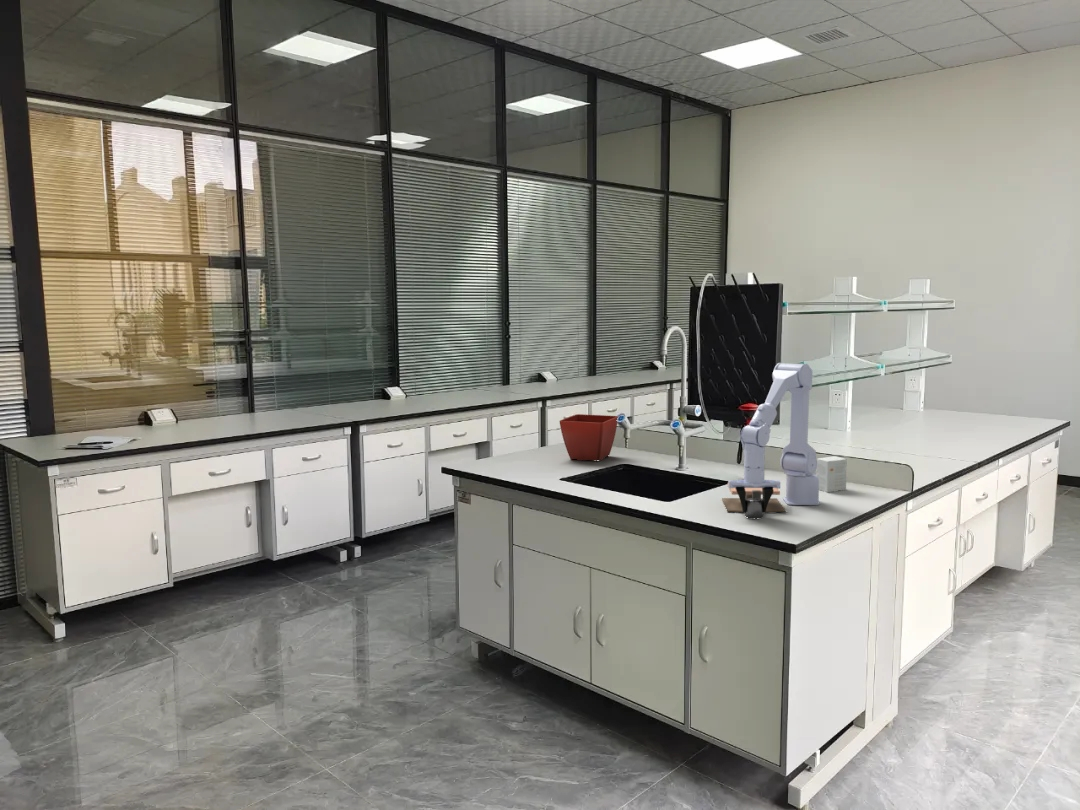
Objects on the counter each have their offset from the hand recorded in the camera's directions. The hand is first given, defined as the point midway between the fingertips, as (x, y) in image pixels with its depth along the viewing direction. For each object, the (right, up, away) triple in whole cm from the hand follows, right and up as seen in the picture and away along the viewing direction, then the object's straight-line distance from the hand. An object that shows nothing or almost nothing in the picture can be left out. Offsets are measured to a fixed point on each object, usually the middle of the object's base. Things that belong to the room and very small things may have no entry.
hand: (753, 512), depth 224 cm
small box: (+34, +3, +30) cm, 45 cm away
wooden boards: (+3, 0, +12) cm, 12 cm away
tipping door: (+3, +5, +11) cm, 13 cm away
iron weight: (0, -1, 0) cm, 1 cm away
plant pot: (-42, +9, +93) cm, 103 cm away
